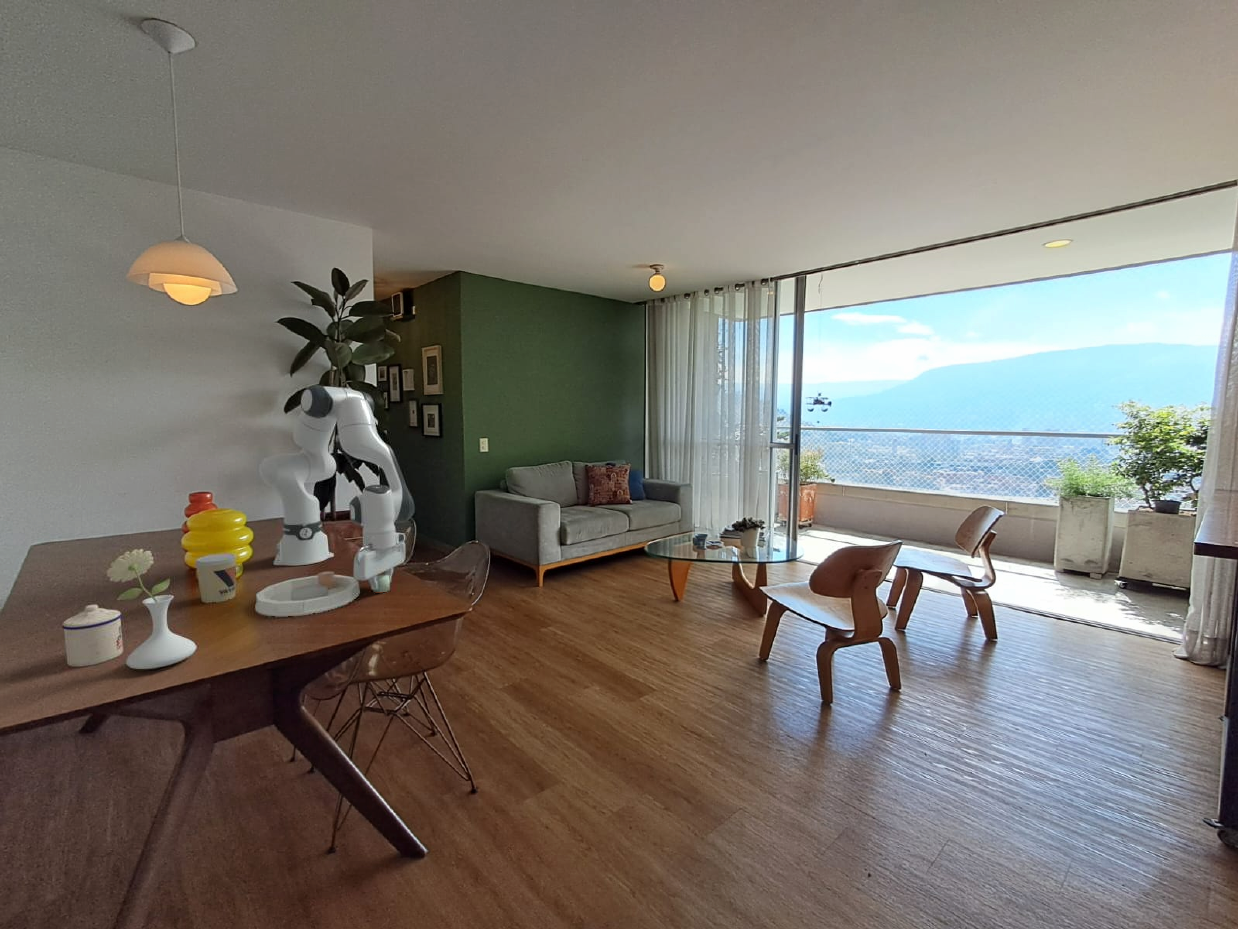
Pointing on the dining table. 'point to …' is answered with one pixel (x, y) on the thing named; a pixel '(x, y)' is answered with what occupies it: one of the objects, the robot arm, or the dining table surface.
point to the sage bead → (383, 583)
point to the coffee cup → (217, 577)
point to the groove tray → (305, 607)
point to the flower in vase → (162, 642)
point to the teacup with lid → (93, 636)
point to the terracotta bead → (327, 579)
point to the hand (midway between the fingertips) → (381, 586)
